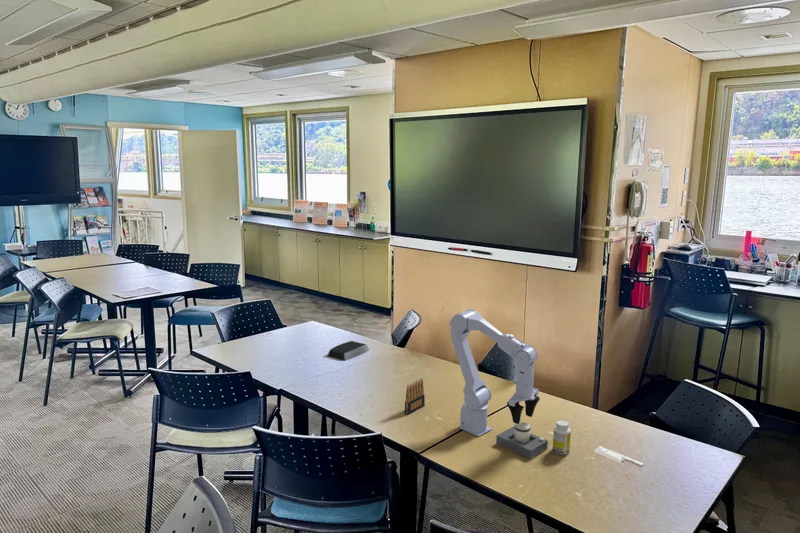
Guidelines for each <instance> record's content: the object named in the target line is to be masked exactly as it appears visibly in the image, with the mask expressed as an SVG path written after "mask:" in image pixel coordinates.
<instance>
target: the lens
mask: <svg viewBox="0 0 800 533" xmlns="http://www.w3.org/2000/svg"><path fill="white" fill-rule="evenodd" d="M514 428H515V430H514V441H516V442H519V443H521V444H523V445H526V444H528V443H529V442H530V433H531V429H532V428H531V425H530V424H529V423H527V422H522V421H520V422H519V424H516V423H514Z"/></svg>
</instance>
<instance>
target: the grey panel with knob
mask: <svg viewBox="0 0 800 533" xmlns="http://www.w3.org/2000/svg"><path fill="white" fill-rule="evenodd" d="M514 430H515V428H514V426H512V427H509V428H508V429H506V430H504V431H501V433H498V434H497V435H496V437H495V438H496V442H495V443H496V445H499V446H501V447H503V448H505V449H507V450H509V451H511V452H514V453H516V454H519V455H521V456H522V457H525V458H527V459H530V460H532V459H533V458H535V457H536V456H538V455H540V454H542V453H543V452H544V451H546V450H547V449H548V446H549V444H548V443H549V440H547V439H545V438H544V437H541V436H538V435H536V434H533V433H531V432H530V442H529V443H528V444H526V445H523V444H521V443H519V442H516V441H514Z"/></svg>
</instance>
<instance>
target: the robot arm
mask: <svg viewBox="0 0 800 533" xmlns="http://www.w3.org/2000/svg"><path fill="white" fill-rule="evenodd" d="M449 325H450V339H451V343H452V346H453V348H454V352H455V355H456V358H457V360H458V361H457V362H458V364H459V368H460V370H461V374H462V376H463V380H464V383H465V385H464V387H463V391H462V392H463V396H464V403H463V404H462V406H461V408H460V413H459V415H460V417H459V419H460V420H459V423H460V424H459V426H458V428H459V429H461V430H464V431H465V432H467V433H470V434H472V435H474V436H477V437H481V436H482V435H484V434H487V433H488V432H490V431H492V430H493V428H492V427H490V426H488V408H489V406H488V405H489V401H490V400H491V399H492V392H491V390H490V388H489V387H488V386H487V384H486V383H487V382H485V381H484V380H483V379H481V377H480V374H479V371H478V369H477V365H476V362H475V359H474V355H473V353H472V349H471V346H470V344H469V340H468V335H469V334H470V332H472V331H474V332H475V331H479V332H480V333H482V334H483V335H485V336H487V337H488V338H490V339H491V340H493V341H494V342H496V343H497V346H498V348H499V349H501V350H502V351H503V352H505V353H506V354H508V356H510V357H512V358H513V361H514V363H515V364H516V375H515V392H514V393H513V395H512V396H511V398H509V399H508V401H507V402H506V406H507V407H508V409H509V412H510V414H511V419H512V422H513V423H514V424H519V422H521V417H522V414H523V413H522V412H523V410H524V407H525V410H524V412H525V416H527V417H529V418H532V417H533V414H534V412H535V409H536V406H537V405H538V403H539V402H540V396H538V395H539V388H535V387H534V377H535V376H534V375H535V362H536V360H537V359H538V352H537V350H536V349H535V347H534V346H532V345H530V344H529V345H527V344H525V343H523V342H521V341H520V340H518V339H516V338H515V336H514V334H512V333H511V334H509V333H504V334H503V332H501V331H500V330H498V328H496V327H495V326H493V325H492V324H491V323H490V322H488V321H487V320H486V319H485V318H484V317H483V316H482V314H481V313H479V312H478V311H476V310H475V309H473V308H470V309H469V308H468V309H466V310H465V311H463V312H460V313H456V314H454V315H453V316H452V318H451V319H450V321H449ZM521 402H524V405H525V406H523V405H521Z"/></svg>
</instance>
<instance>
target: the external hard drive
mask: <svg viewBox="0 0 800 533" xmlns="http://www.w3.org/2000/svg"><path fill="white" fill-rule="evenodd" d="M369 351H370V349H369V347H368V344H366V343H362V342H358V341H353V340H350V341H347V342H343V343H340V344H338V345H335V346H334V347H332V348H331V349H330V350H329V351H328V353H327V357H330V358H333V359H337V360H339V361H340V360H341V361H349V360H352V359H354V358H356V357H359V356H361V355H363V354H365V353H367V352H369Z"/></svg>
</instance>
